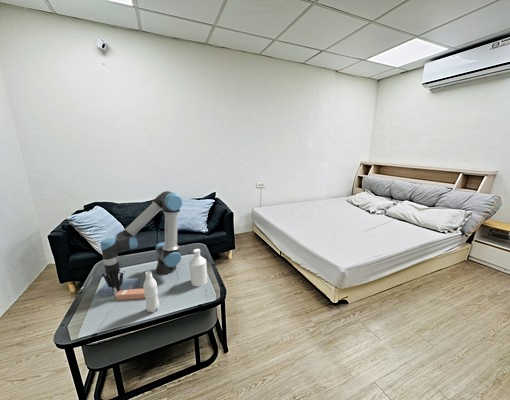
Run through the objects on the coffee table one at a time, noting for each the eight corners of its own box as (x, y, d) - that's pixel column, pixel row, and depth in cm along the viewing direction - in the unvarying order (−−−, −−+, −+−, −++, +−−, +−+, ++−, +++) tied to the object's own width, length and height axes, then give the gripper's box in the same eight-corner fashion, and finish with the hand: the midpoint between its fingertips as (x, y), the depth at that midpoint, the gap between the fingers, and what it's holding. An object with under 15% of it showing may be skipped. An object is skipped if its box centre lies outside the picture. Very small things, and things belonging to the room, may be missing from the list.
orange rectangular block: (151, 292, 145) (151, 287, 144) (148, 297, 140) (148, 292, 139) (120, 294, 143) (120, 289, 143) (116, 300, 138) (115, 295, 137)
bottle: (200, 275, 165) (197, 245, 159) (211, 280, 158) (209, 249, 153) (187, 283, 155) (184, 251, 150) (198, 288, 149) (195, 255, 143)
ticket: (138, 282, 157) (138, 277, 156) (131, 293, 145) (130, 288, 144) (109, 284, 155) (109, 279, 154) (99, 295, 144) (98, 290, 143)
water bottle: (149, 305, 133) (144, 269, 127) (161, 305, 133) (157, 268, 128) (144, 314, 126) (139, 276, 120) (157, 313, 126) (152, 275, 121)
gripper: (125, 259, 140) (130, 291, 145) (104, 260, 138) (110, 292, 144) (119, 265, 132) (124, 298, 137) (96, 266, 131) (103, 300, 136)
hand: (117, 295), depth 141 cm, fingers closed
